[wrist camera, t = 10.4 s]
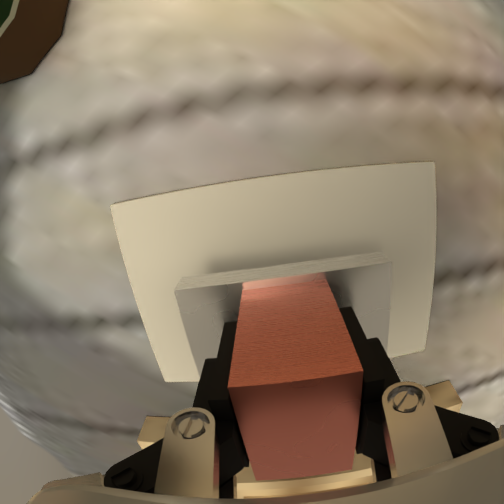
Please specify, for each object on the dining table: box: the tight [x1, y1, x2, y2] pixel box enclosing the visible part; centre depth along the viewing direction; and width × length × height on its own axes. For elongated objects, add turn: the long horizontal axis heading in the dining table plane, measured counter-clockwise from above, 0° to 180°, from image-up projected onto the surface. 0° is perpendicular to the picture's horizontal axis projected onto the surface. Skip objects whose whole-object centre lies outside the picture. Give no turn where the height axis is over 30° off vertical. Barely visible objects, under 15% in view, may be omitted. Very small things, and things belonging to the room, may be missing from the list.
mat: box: [110, 161, 437, 382], centre depth 16 cm, size 16×11×1 cm
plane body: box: [137, 380, 463, 499], centre depth 17 cm, size 22×9×8 cm, turn 99°
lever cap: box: [174, 251, 392, 481], centre depth 10 cm, size 8×5×6 cm, turn 99°
